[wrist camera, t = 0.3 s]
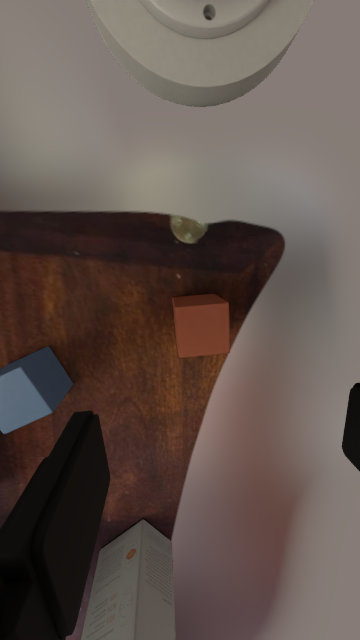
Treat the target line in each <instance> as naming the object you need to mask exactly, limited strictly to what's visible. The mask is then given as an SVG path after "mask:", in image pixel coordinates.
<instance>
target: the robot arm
mask: <svg viewBox="0 0 360 640" xmlns="http://www.w3.org/2000/svg"><path fill="white" fill-rule="evenodd" d="M140 1H141V3H142V4H143V5H144V6H145V7H146V9H147V10H148V11H149V12H150V13H151V14H152V15H153V16H154V17H155V18H157V19H158V20H159V21H160V22H161V23H163V24H164V25H165V26H167V27H169V28H171V29H172V30H174V31H176V32H178V33H180V34H183V35H187V36H190V37H194V38H211V39H212V38H216V37H221V36H226V35H228V34H231V33H233V32H235V31H237V30H239V29H241V28H243V27H244V26H245V25H246V24H248V23H249V22H250V21H251V20H253V19H254V18H255V17H256V16H257V15H258V14H259V13H260V11H261V10H262V9H263V8H264V7H265V6H266V4H267V3H268V2H269V0H140ZM342 449H343V452H344V454H345V456H346V457H347V458H348V459H349V460H350V461H351V463H352V464H353V465H354V466H355V467H356V468H357V469H358V470H359V471H360V383H356V384H355V385H354V386H353V388H352V389H351V390H350V394H349V401H348V408H347V415H346V422H345V428H344V435H343V442H342ZM109 482H110V472H109V467H108V462H107V457H106V452H105V446H104V441H103V436H102V431H101V426H100V421H99V416H98V415H97V414H95V415H94V414H93V412H92V411H82V412H75V413H74V414H73V415H72V417H71V418H70V420H69V422H68V423H67V425H66V427H65V429H64V430H63V432H62V434H61V436H60V437H59V439H58V441H57V443H56V444H55V446H54V448H53V449H52V451H51V453H50V455H49V456H48V457H46V458H45V459H43V461H42V462H41V463H40V465H39V466H38V468H37V470H36V471H35V473H34V475H33V476H32V478H31V480H30V481H29V483H28V485H27V486H26V488H25V490H24V491H23V493H22V495H21V496H20V498H19V500H18V501H17V503H16V505H15V506H14V508H13V510H12V511H11V513H10V515H9V517H8V518H7V520H6V522H5V523H4V525H3V527H2V528H1V530H0V640H65V639H66V636H69V635H72V633H73V631H74V629H75V626H76V622H77V618H78V614H79V610H80V606H81V601H82V597H83V593H84V589H85V584H86V580H87V576H88V572H89V568H90V563H91V559H92V555H93V551H94V547H95V542H96V538H97V534H98V530H99V526H100V521H101V517H102V513H103V509H104V505H105V500H106V496H107V492H108V488H109Z"/></svg>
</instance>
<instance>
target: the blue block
mask: <svg viewBox="0 0 360 640" xmlns="http://www.w3.org/2000/svg"><path fill="white" fill-rule="evenodd" d="M72 386H73V382H72V381H71V379H70V378H69V376H68V375H67V373H66V371H65V370H64V368H63V367H62V365H61V364H60V362H59V361H58V359H57V358H56V356H55V355H54V353H53V352H52V350H51V349H50V347H49V346H47V347H45V348H43V349H41V350H39V351H36V352H34V353H32V354H30V355H28V356H26V357H23V358H21V359H19V360H17V361H15V362H13V363H10V364H8V365H6V366H5V367H3V368H2V369H0V430H1V431H2V433H3V434H6V433H9V432H11V431H13V430H15V429H17V428H20V427H22V426H24V425H26V424H29V423H31V422H33V421H35V420H37V419H40V418H42V417H44V416H46V415H49V414H51V413H53V412H54V410H55V409H56V408H57V406H58V405H59V403H60V402H61V401H62V399H63V398H64V397H65V395H66V394H67V393H68V391H69V390H70V388H71V387H72Z"/></svg>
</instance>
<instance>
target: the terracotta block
mask: <svg viewBox="0 0 360 640" xmlns="http://www.w3.org/2000/svg"><path fill="white" fill-rule="evenodd" d="M172 299H173V311H174V323H175V335H176V342H177V348H178V354H179V358H183V357H193V356H203V355H213V354H224V353H230V337H229V303H228V302H226V301H225V300H223V299H222V298H220V297H219V296H217V295H215V294H204V295H193V296H181V297H172Z"/></svg>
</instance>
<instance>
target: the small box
mask: <svg viewBox="0 0 360 640" xmlns="http://www.w3.org/2000/svg"><path fill="white" fill-rule="evenodd" d="M81 640H176V639H175V614H174V585H173V560H172V542H171V541H170V540H169V539H168V538H166V537H165V536H164V535H163V534H161V533H160V532H159V531H158V530H156V529H155V528H154V527H153V526H151V525H150V524H149V523H148V522H146V521H145V520H141V521H140V522H138V523H137V524H136V525H134V526H133V527H131V528H130V529H129V530H127V531H126V532H124V533H123V534H122V535H120V536H119V537H117V538H116V539H115V540H113V541H112V542H110V543H109V544H108V545H106V546H105V547H103V548H102V549H101V550H100V552H99V557H98V562H97V567H96V571H95V576H94V581H93V586H92V590H91V595H90V600H89V604H88V609H87V614H86V618H85V623H84V628H83V632H82V637H81Z"/></svg>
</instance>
